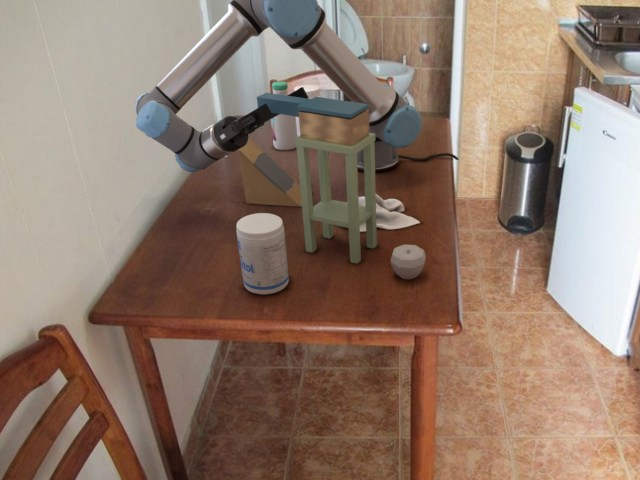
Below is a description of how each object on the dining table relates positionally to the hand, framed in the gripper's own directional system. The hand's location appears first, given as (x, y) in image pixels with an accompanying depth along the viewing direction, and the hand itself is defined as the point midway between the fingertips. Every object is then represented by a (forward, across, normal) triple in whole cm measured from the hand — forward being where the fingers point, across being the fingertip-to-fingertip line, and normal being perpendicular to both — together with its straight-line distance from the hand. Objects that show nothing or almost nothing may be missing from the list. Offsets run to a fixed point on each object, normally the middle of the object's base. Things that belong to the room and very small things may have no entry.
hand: (287, 100), depth 141 cm
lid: (+3, 0, -5) cm, 6 cm away
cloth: (-7, -19, -34) cm, 40 cm away
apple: (+10, +4, -44) cm, 45 cm away
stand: (-7, 0, -34) cm, 35 cm away
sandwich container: (-32, -17, -20) cm, 42 cm away
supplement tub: (-12, +21, -31) cm, 40 cm away
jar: (-50, -65, -9) cm, 83 cm away
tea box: (+7, 0, -11) cm, 13 cm away
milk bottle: (-51, -51, -9) cm, 72 cm away
